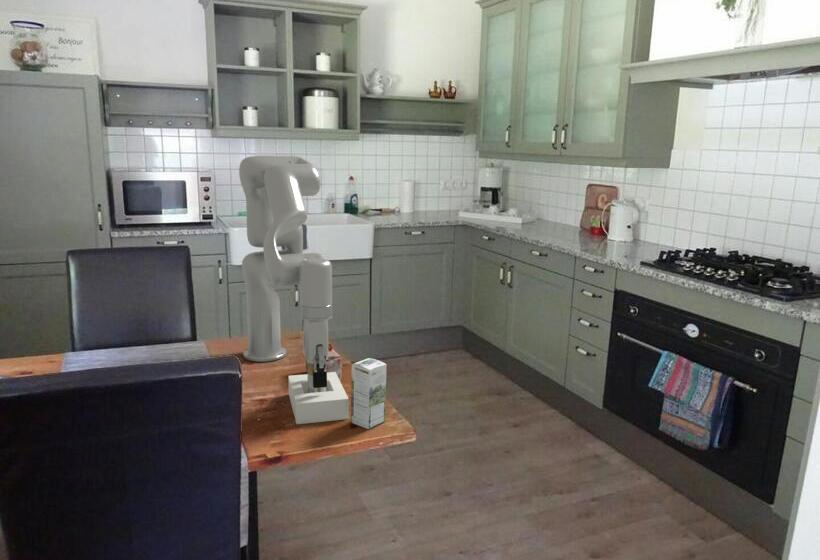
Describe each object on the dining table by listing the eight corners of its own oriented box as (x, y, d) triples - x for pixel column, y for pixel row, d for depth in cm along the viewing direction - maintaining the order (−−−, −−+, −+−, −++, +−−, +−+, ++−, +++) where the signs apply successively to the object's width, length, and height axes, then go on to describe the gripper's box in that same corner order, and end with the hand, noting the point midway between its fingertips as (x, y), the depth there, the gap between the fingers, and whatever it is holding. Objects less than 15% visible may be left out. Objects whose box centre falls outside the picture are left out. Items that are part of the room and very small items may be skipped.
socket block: (288, 394, 156) (288, 375, 155) (335, 390, 160) (335, 371, 159) (296, 424, 139) (296, 403, 138) (348, 418, 143) (348, 398, 142)
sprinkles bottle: (329, 407, 149) (329, 354, 146) (312, 411, 147) (311, 357, 144) (321, 400, 153) (320, 349, 150) (304, 404, 150) (303, 352, 148)
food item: (346, 384, 164) (346, 349, 162) (317, 389, 160) (317, 353, 158) (327, 368, 176) (327, 335, 174) (301, 372, 172) (300, 338, 170)
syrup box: (367, 415, 145) (367, 356, 142) (386, 422, 141) (386, 362, 138) (350, 422, 141) (350, 362, 138) (369, 430, 137) (369, 369, 134)
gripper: (296, 303, 152) (297, 368, 155) (304, 321, 135) (305, 394, 139) (326, 301, 154) (326, 366, 157) (338, 319, 138) (338, 391, 141)
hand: (317, 379), depth 148 cm, fingers open, 9 cm apart
